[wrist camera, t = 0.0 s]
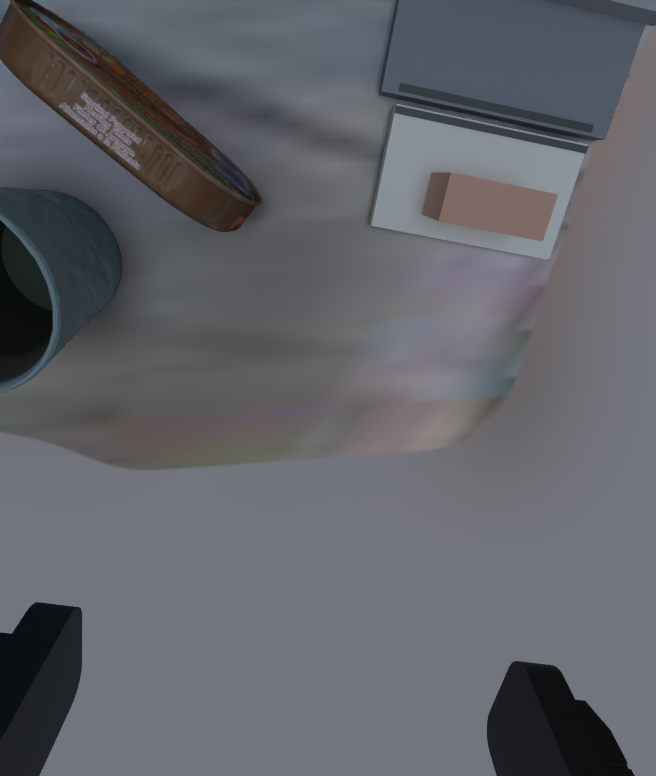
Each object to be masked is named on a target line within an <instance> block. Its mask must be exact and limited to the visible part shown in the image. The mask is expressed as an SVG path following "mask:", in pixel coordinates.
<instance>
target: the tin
mask: <svg viewBox="0 0 656 776" xmlns="http://www.w3.org/2000/svg"><path fill="white" fill-rule="evenodd" d="M0 59H1V60H2V62H3V63H4V64H5V65H6V67H7V68H8V69H9V70H10V71H11V72H12V73H13V74H14V75H15V76H16V77H17V78H18V79H19V80H20V81H21V82H22V83H23V84H24V85H25V86H26V87H27V88H28V89H30V90H31V91H32V92H33V93H34V94H35V95H37V96H38V97H39V98H40V99H41V100H43V101H44V102H45V103H46V104H47V105H49V106H50V107H51V108H52V109H53V110H55V111H56V112H57V113H58V114H59V115H61V116H62V117H63V118H64V119H65V120H67V121H68V122H69V123H70V124H71V125H72V126H74V127H75V128H76V129H78V130H79V131H80V132H81V133H82V134H83V135H85V136H86V137H87V138H88V139H90V140H91V141H92V142H93V143H94V144H96V145H97V146H98V147H99V148H101V149H102V150H103V151H104V152H106V153H107V154H108V155H109V156H110V157H111V158H113V159H114V160H115V161H116V162H118V163H119V164H120V165H121V166H123V167H124V168H125V169H126V170H128V171H129V172H130V173H131V174H133V175H134V176H135V177H136V178H137V179H139V180H140V181H141V182H142V183H144V184H145V185H146V186H147V187H149V188H150V189H151V190H152V191H154V192H155V193H156V194H157V195H159V196H160V197H161V198H162V199H164V200H165V201H166V202H168V203H169V204H170V205H172V206H173V207H175V208H176V209H178V210H179V211H181V212H182V213H184V214H185V215H187V216H188V217H190V218H192V219H193V220H195V221H197V222H199V223H201V224H202V225H204V226H207V227H209V228H211V229H214V230H217V231H220V232H229V231H234V230H237V229H238V228H239V227H240V226H241V225H242V224H243V223H244V221H245V220H246V218H247V217H248V216H249V214H250V213H251V212H252V210H253V209H254V208H255V206H257V205H259V204H260V203H261V197H260V195H259V193H258V192H257V190H256V189H255V187H254V186H253V185H252V183H251V182H250V181H249V179H248V178H247V177H246V176H245V175H244V174H243V173H242V172H241V171H240V170H239V169H238V168H237V167H236V166H235V165H234V164H233V163H232V162H231V161H230V160H229V159H228V158H227V157H226V156H225V155H224V154H223V153H221V152H220V151H219V150H218V149H217V148H216V147H215V146H214V145H213V144H211V143H210V142H209V141H208V140H207V139H206V138H205V137H203V136H202V135H201V134H200V133H199V132H198V131H197V130H195V129H194V128H193V127H192V126H191V125H190V124H189V123H188V122H186V121H185V120H184V119H183V118H182V117H181V116H180V115H179V114H177V113H176V112H175V111H174V110H173V109H172V108H171V107H169V106H168V105H167V104H166V103H165V102H164V101H163V100H162V99H160V98H159V97H158V96H157V95H156V94H155V93H154V92H153V91H151V90H150V89H149V88H148V87H147V86H146V85H145V84H144V83H142V82H141V81H140V80H139V79H138V78H137V77H136V76H134V75H133V74H132V73H131V72H130V71H129V70H128V69H127V68H125V67H124V66H123V65H122V64H121V63H120V62H118V61H117V60H116V59H115V58H114V57H112V56H111V55H110V54H109V53H107V52H106V51H105V50H104V49H102V48H101V47H100V46H99V45H97V44H96V43H95V42H94V41H92V40H91V39H90V38H88V37H87V36H86V35H84V34H83V33H82V32H80V31H79V30H78V29H76V28H75V27H73V26H72V25H70V24H69V23H68V22H66V21H65V20H63V19H61V18H60V17H59V16H57V15H56V14H54V13H52V12H51V11H49V10H48V9H46V8H44V7H42V6H41V5H39V4H38V3H36V2H34V1H32V0H10V5H9V7H8V9H7V11H6V14H5V16H4V18H3V20H2V22H1V24H0Z"/></svg>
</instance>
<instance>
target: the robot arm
mask: <svg viewBox="0 0 656 776" xmlns="http://www.w3.org/2000/svg"><path fill="white" fill-rule="evenodd" d="M81 669H82V611H81V608H79V607H73V606H64V605H56V604H47V603H39V602H36V603H34V604H33V605H32V606H31V607H30V608H29V609H28V610H27V612H26V613H25V615H24V616H23V618H22V619H21V621H20V623H19V624H18V625H17V627H16V628H15V630H14V631H13V633H12V634H7V633H0V776H39V775H40V773H41V770H42V769H43V766H44V764H45V762H46V760H47V758H48V756H49V753H50V751H51V749H52V747H53V745H54V743H55V740H56V738H57V736H58V734H59V732H60V730H61V727H62V725H63V723H64V721H65V718H66V717H67V714H68V712H69V710H70V708H71V705H72V703H73V700H74V698H75V695H76V692H77V688H78V685H79V681H80V676H81ZM487 740H488V746H489V751H490V755H491V758H492V761H493V765H494V768H495V771H496V775H497V776H634V774H633V772H632V770H631V769H628V767H627V761H626V759H625V757H624V755H623V754H622V751H621V749H620V748H619V746H618V744H617V742H616V740H615V738H614V736H613V734H612V732H611V730H610V729H609V728H608V727H607V726H606V725H605V723H604V722H603V721H602V720H601V719H600V718H599V716H598V715H597V714H596V713H595V712H594V711H593V709H592V708H591V707H590V706H589V705H588V704H587V703H586V701H582V700H575V698H574V696H573V694H572V693H571V691H570V688H569V686H568V684H567V682H566V680H565V678H564V676H563V674H562V673H561V672H560V670H559V669H558V668H557V667H555V666H553V665H545V664H536V663H529V662H520V661H515V662H513V663H512V664H511V665H510V667H509V669H508V671H507V673H506V676H505V678H504V680H503V683H502V685H501V687H500V689H499V692H498V694H497V696H496V699H495V701H494V703H493V705H492V708H491V710H490V713H489V716H488V721H487Z"/></svg>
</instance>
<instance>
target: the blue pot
mask: <svg viewBox="0 0 656 776" xmlns="http://www.w3.org/2000/svg"><path fill="white" fill-rule="evenodd" d="M120 275H121V257H120V252H119V249H118V245H117V242H116V240H115V238H114V236H113V234H112V232H111V231H110V229H109V227H108V226H107V224H106V223H105V222H104V221H103V219H102V218H101V217H100V216H99V214H98V213H96V212H95V211H94V210H92V209H91V208H90V207H88V206H87V205H85V204H84V203H83V202H81V201H79V200H77V199H76V198H75V197H71V196H68V195H66V194H63V193H59V192H54V191H46V190H28V189H17V188H7V187H3V188H0V393H2V392H5V391H8V390H11V389H14V388H16V387H19V386H21V385H23V384H24V383H26V382H28V381H29V380H31V379H32V378H33V377H35V376H36V375H37V374H38V373H39V372H40V371H41V370H42V369H43V368H44V367H45V366H46V365H47V364H48V363H49V362H50V360H51V359H52V358H53V357H54V356H55V355H56V354H57V353H58V352H59V351H60V350H61V349H62V348H63V347H64V346H65V344H66V342H68V341H70V339H71V338H73V337H74V336H75V335H76V334H77V332H78V331H79V330H81V329H82V328H83V327H84V326H85V325H86V324H87V323H88V322H89V321H90V319H92V318H93V317H94V316H95V315H96V314H97V313H98V312H99V311H100V310H101V309H102V308H103V307H104V306H105V305H106V304H107V303H108V302H109V301H110V300H111V298H112V297H113V295H114V294H115V291H116V289H117V287H118V284H119V281H120Z"/></svg>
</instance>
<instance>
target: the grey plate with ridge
mask: <svg viewBox="0 0 656 776" xmlns="http://www.w3.org/2000/svg"><path fill="white" fill-rule="evenodd" d="M645 24H647V25H651V26H655V25H656V0H397V2H396V7H395V13H394V18H393V23H392V28H391V33H390V38H389V43H388V49H387V54H386V59H385V64H384V69H383V74H382V79H381V85H380V90H379V95H383V96H387V97H392V98H397V99H401V100H406V101H411V102H415V103H420V104H425V105H429V106H434V107H439V108H443V109H448V110H453V111H457V112H462V113H466V114H471V115H476V116H480V117H485V118H490V119H494V120H499V121H504V122H508V123H513V124H518V125H522V126H527V127H532V128H536V129H541V130H545V131H550V132H555V133H559V134H564V135H569V136H573V137H578V138H583V139H587V140H592V141H595V140H603V139H605V138H606V135H607V132H608V129H609V126H610V123H611V121H612V118H613V115H614V112H615V109H616V106H617V103H618V101H619V98H620V95H621V92H622V89H623V86H624V83H625V81H626V78H627V75H628V72H629V69H630V66H631V63H632V60H633V58H634V55H635V52H636V49H637V46H638V43H639V40H640V38H641V35H642V32H643V29H644V26H645Z"/></svg>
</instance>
